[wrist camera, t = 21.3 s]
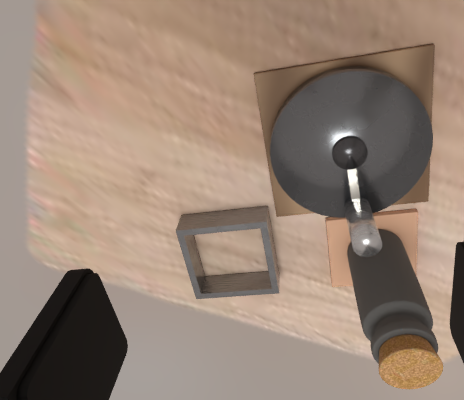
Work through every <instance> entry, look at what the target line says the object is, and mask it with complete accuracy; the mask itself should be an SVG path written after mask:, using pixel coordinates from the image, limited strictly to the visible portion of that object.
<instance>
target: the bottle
mask: <svg viewBox="0 0 464 400" xmlns="http://www.w3.org/2000/svg"><path fill="white" fill-rule="evenodd" d="M378 231H379V234H380V237H381V240H382V248H381V250H380V252H379V253H377V254H376V255H374V256H371V257H362V256H359V255H357V254H356V253H355V252H354V250H353V247H352V242H350V244H349V247H348V250H347V256H348V262H349V267H350V272H351V277H352V282H353V286H354V291H355V296H356V301H357V306H358V311H359V315H360V320H361V324H362V328H363V332H364V334H365V336H366V337H367V338H368V339H369V340H370V341H371V351H372V354H373V357H374V359H375V360H376V361H377V363H378V364H379V374H380V376H381V378H382V379H383V380H384V381H385V382H386V383H387V384H389V385H391V386H393V387H396V388H401V389H417V388H421V387H425V386H427V385H429V384H431V383H433V382H434V381H436V380H437V379H438V378H439V376H440V375H441V373H442V371H443V364H442V361H441V359H440V358H439V356H438V355H437V352H438V344H437V340H436V338H435V335H434V333H433V332H432V331H431V329H432V326H433V319H432V316H431V313H430V310H429V307H428V305H427V302H426V300H425V297H424V294H423V292H422V289H421V287H420V284H419V282H418V279H417V277H416V274H415V272H414V269H413V267H412V265H411V262H410V260H409V257H408V255H407V252H406V250H405V247H404V245H403V243H402V241H401V239H400V238H399V237H398V236H397V235H396V234H394V233H392V232H390V231H387V230H383V229H378Z"/></svg>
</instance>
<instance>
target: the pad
mask: <svg viewBox="0 0 464 400" xmlns="http://www.w3.org/2000/svg"><path fill="white" fill-rule="evenodd" d="M373 216H374V219H375V222H376V225H377V228H378V229H383V230H387V231H390V232H392V233H394V234H396V235H397V236H398V237H399V238H400V239H401V241H402V243H403V245H404V247H405V250H406V252H407V255H408V257H409V260H410V262H411V265H412V267H413V269H414V272H415V274H416V262H417V226H418V211H417V209H410V210H400V211H390V212H380V213H373ZM326 227H327V237H328V248H329V258H330V269H331V279H332V287H339V286H353V282H352V277H351V272H350V267H349V262H348V256H347V250H348V247H349V244H350V242H351V238H350V233H349V229H348V225H347V220H346V218H337V217H329V218H326Z"/></svg>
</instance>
